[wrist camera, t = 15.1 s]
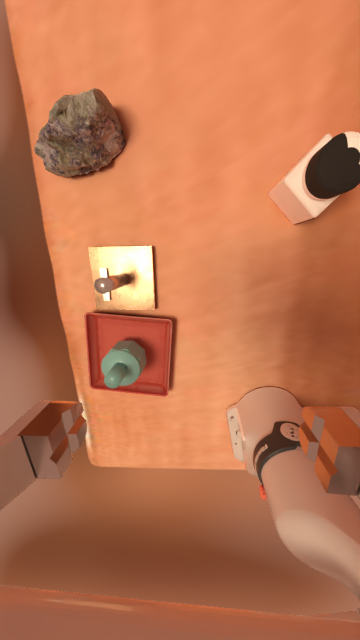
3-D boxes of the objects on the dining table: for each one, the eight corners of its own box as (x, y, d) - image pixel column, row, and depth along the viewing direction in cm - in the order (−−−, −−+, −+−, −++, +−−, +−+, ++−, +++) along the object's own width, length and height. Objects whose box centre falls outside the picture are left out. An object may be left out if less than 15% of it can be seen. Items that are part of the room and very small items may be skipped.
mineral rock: (54, 178, 36) (3, 150, 27) (50, 102, 33) (-10, 39, 23) (125, 187, 36) (99, 161, 26) (127, 110, 32) (99, 49, 23)
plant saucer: (91, 308, 43) (82, 312, 40) (174, 315, 42) (172, 320, 39) (96, 380, 49) (89, 389, 46) (170, 388, 48) (168, 397, 45)
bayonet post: (156, 308, 42) (143, 324, 32) (100, 307, 43) (70, 323, 33) (153, 246, 38) (137, 242, 28) (92, 247, 39) (56, 244, 29)
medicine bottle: (292, 225, 35) (338, 211, 24) (266, 194, 34) (301, 163, 23) (328, 191, 34) (397, 157, 22) (301, 157, 32) (359, 103, 21)
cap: (143, 340, 41) (130, 361, 33) (147, 371, 43) (136, 399, 35) (108, 341, 42) (86, 362, 33) (114, 372, 44) (95, 399, 36)
